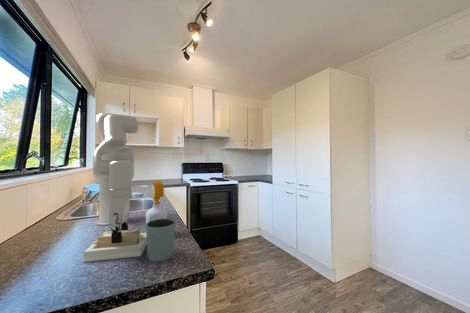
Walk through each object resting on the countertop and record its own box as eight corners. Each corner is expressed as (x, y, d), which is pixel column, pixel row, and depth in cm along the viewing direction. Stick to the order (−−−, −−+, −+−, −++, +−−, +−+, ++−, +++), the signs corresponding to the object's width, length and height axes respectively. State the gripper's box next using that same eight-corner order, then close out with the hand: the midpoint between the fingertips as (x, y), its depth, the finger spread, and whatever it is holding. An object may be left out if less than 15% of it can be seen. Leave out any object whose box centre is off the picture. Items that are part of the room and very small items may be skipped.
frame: (104, 244, 78) (104, 231, 78) (140, 241, 81) (140, 228, 81) (97, 251, 72) (97, 237, 72) (136, 247, 75) (136, 234, 75)
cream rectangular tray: (101, 243, 81) (101, 234, 81) (148, 239, 85) (148, 231, 85) (82, 262, 67) (83, 251, 67) (140, 255, 71) (141, 245, 71)
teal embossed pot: (161, 247, 78) (161, 216, 78) (181, 252, 73) (181, 220, 74) (138, 259, 69) (139, 224, 69) (160, 265, 64) (160, 228, 64)
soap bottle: (161, 229, 98) (161, 179, 98) (170, 234, 91) (170, 181, 91) (142, 234, 91) (143, 181, 92) (150, 240, 85) (150, 182, 85)
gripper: (117, 189, 84) (117, 231, 84) (99, 197, 67) (99, 249, 67) (136, 188, 86) (136, 229, 85) (124, 196, 69) (123, 247, 69)
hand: (120, 238), depth 76 cm, fingers open, 7 cm apart
